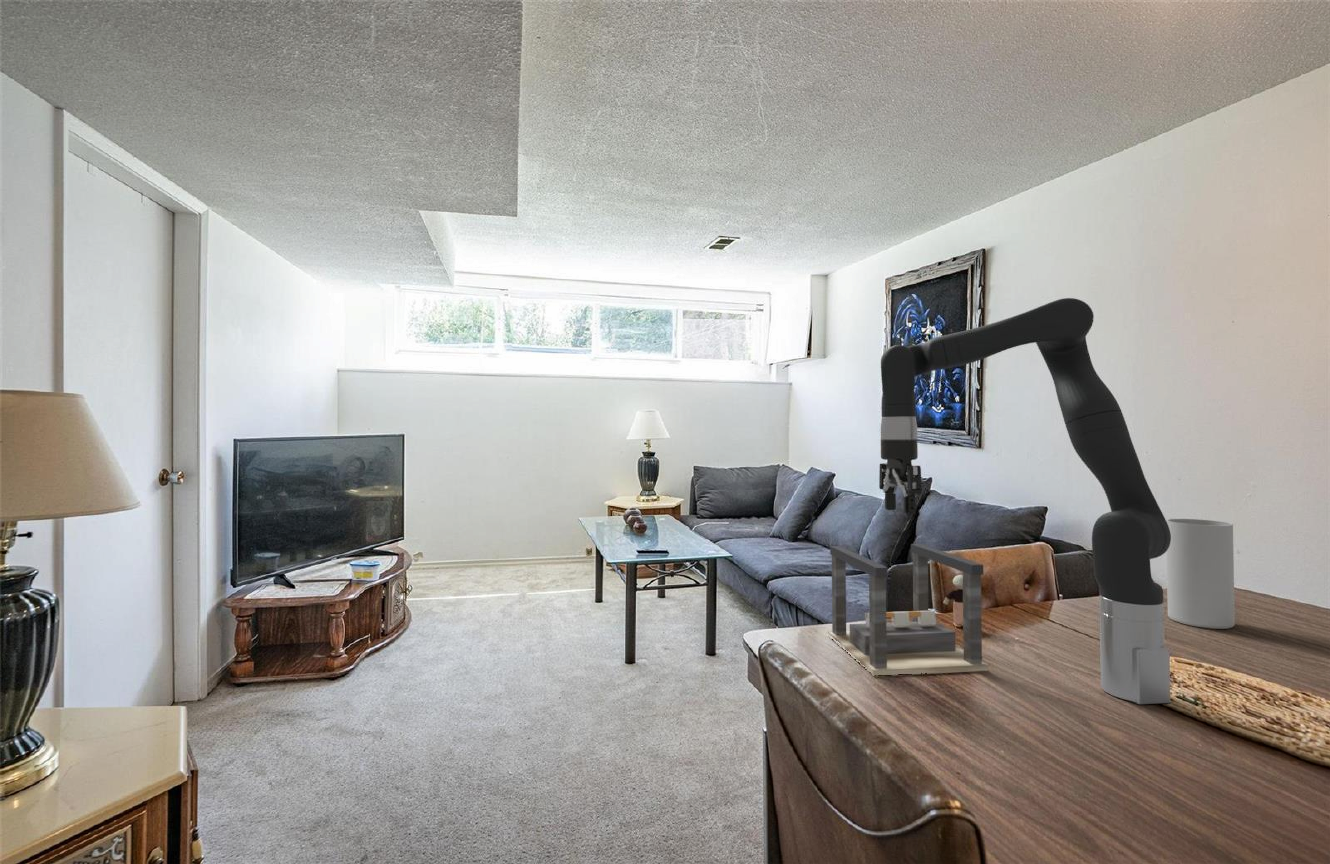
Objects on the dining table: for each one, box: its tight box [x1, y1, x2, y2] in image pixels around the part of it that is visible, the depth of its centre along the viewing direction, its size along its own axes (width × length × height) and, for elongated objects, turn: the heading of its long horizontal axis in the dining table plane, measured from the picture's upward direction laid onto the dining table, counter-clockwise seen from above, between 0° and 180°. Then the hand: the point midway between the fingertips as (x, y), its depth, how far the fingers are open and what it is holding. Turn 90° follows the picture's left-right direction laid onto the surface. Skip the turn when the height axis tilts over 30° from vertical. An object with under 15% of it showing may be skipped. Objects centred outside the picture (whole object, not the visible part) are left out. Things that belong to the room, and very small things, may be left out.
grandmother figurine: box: [943, 574, 963, 626], centre depth 148 cm, size 8×4×13 cm, turn 84°
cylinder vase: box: [1165, 518, 1236, 630], centre depth 150 cm, size 12×12×25 cm
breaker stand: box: [827, 553, 989, 676], centre depth 131 cm, size 24×24×19 cm
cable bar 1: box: [829, 545, 889, 579], centre depth 130 cm, size 24×2×2 cm, turn 6°
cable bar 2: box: [910, 543, 984, 576], centre depth 132 cm, size 24×2×2 cm, turn 6°
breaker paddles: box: [864, 609, 937, 627], centre depth 131 cm, size 2×15×3 cm, turn 96°
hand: (899, 512), depth 131 cm, fingers open, 8 cm apart
